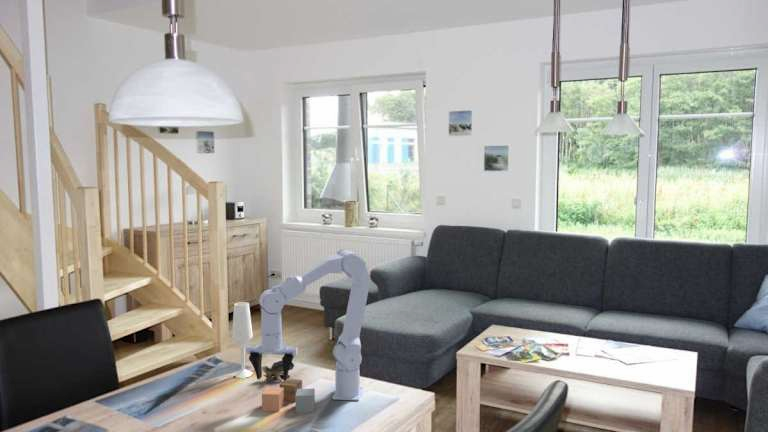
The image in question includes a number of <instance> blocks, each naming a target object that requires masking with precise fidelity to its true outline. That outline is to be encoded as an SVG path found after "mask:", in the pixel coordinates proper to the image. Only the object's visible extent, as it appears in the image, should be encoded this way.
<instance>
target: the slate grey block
mask: <svg viewBox="0 0 768 432" xmlns="http://www.w3.org/2000/svg"><path fill="white" fill-rule="evenodd" d="M315 393H316V389H315V388H302V389H297V392H296V395H295V401H296V402H295V413H314V412H315V411H314V410H315V406H316V403H315V402H316V399H315V397H316V396H315V395H316V394H315Z"/></svg>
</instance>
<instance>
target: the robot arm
mask: <svg viewBox="0 0 768 432" xmlns="http://www.w3.org/2000/svg"><path fill="white" fill-rule="evenodd" d="M343 273H345V275H346V276H347V277H348V279H349V280H350V282H351V286H350V287H351V289H350V293H349V298H348V303H347V308H346V311H345V318H344V323H343V327H342V331H341V334H340V335H339V336H338V338H337V339H338V340H337V342H336V344H335V345H334V347H333V349H332V355H333V357H334V359H336V363H335V366H334V367H335V370H334V371H335V379H334V380H335V391H334V393H333V395H332V397H331V398H332V400H336V401H360V397H361V395H362V392H363V390H364V387H363V386H360V385H361V384H360V383H361V381H360V378H361V376H360V374H361V373H360V371H361V370H360V365H361V363H362V360H363V356H362V353H361V351H362V345H361V344H362V343H361V339H360V336H361V330H362V325H363V320H364V316H365V310H366V306H367V300H368V295H369V290H370V285H371V276H370V273H369V271H368V268H367V262H366V261H365V259H364V258H363V257H362V256H361V255H360V254H358V253H355V252H353V251H351V250H349V249H348V248H342V249H339V250H338V251H337V252H335V253H332V254H330V255H329V256H328V257H327V258H325V259H324V260H322V261H321V262H320V263H317V264H316V265H315V266H313V267H312V268H311V269H309V270H308V271H306V272H305V273H303V274H302V275H300V276H299V275H292V276H291V275H288V276H286V278H285V279H286V280H284V281H282V282H281V283H279V284H278V285H273V286H271V289H266V290H264V291H263V292H262V293H261V295H260V297H259V299H258V303H259V306H261V312H260V313H261V318H260V326H261V335H260V336H261V344H258V345H256V344H255V345H247V346H246V347H245V352H246V353H245V355H249V356H248V360H249V361H250V363H251V365H252V366H253V369H254V372H255V375H256V380H261V378H262V377H263V376H262V375H263V370H262V367H263V366H262V361H263V360H262V359H263V355H278V356H279V355H281V356H282V358H281V361H282V362H283V375H282V380H283V381H284V380H286V379H287V378H289V376H288V375H289V371H290V370H289V368H290V365H291V362H292V363H293V360H294V357H296V356H298V349H299V348H298V347H296V346H288V345H283V332H282V330H283V328H282V326H283V325H282V321H283V320H282V319H283V318H282V311H283V308H284V306H285V305H287V304H288V303H290V302H291V301H293V300H295V298H298V297H299V296H301V295H302V294H304V293H305V291H306V289H307V286H309V285H311V284H312V283H314V282H316V281H318V280H320V279H322V278H323V277H326V276H327V275H328V274H343Z"/></svg>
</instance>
